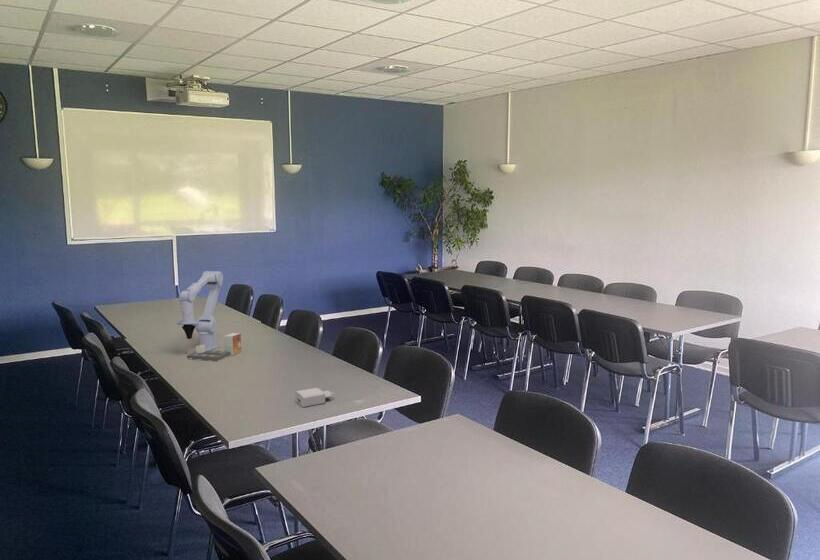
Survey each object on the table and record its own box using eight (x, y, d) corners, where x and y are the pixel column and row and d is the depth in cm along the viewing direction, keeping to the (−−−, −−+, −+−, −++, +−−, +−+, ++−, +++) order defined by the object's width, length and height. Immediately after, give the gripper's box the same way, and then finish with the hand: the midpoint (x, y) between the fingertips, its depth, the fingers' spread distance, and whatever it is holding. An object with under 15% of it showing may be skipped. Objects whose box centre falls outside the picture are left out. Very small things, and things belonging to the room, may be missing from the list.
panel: (201, 353, 325) (201, 349, 324) (230, 355, 319) (230, 351, 319) (187, 358, 313) (187, 354, 313) (216, 361, 308) (216, 357, 308)
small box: (233, 355, 319) (232, 336, 317) (224, 354, 321) (223, 335, 319) (241, 352, 326) (241, 333, 325) (233, 351, 328) (232, 332, 327)
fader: (200, 351, 320) (200, 344, 319) (205, 351, 319) (205, 344, 318) (195, 353, 316) (195, 346, 315) (200, 353, 315) (200, 346, 315)
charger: (338, 401, 245) (303, 408, 237) (329, 395, 253) (295, 401, 245) (338, 390, 244) (302, 396, 237) (329, 384, 252) (295, 390, 245)
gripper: (171, 314, 315) (173, 339, 317) (194, 315, 311) (196, 341, 313) (180, 311, 322) (181, 336, 323) (203, 313, 317) (204, 338, 319)
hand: (189, 338), depth 318 cm, fingers closed
